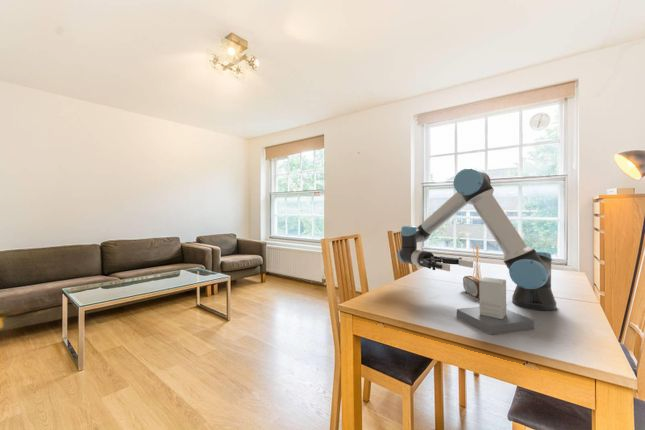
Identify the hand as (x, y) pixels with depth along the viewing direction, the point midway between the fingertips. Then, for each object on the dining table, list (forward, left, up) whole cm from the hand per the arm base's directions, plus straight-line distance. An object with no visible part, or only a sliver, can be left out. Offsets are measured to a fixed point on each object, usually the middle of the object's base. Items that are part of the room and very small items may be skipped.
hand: (461, 266), depth 116 cm
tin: (-18, -14, -18) cm, 29 cm away
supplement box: (-1, +15, -15) cm, 21 cm away
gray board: (-1, +15, -18) cm, 23 cm away
